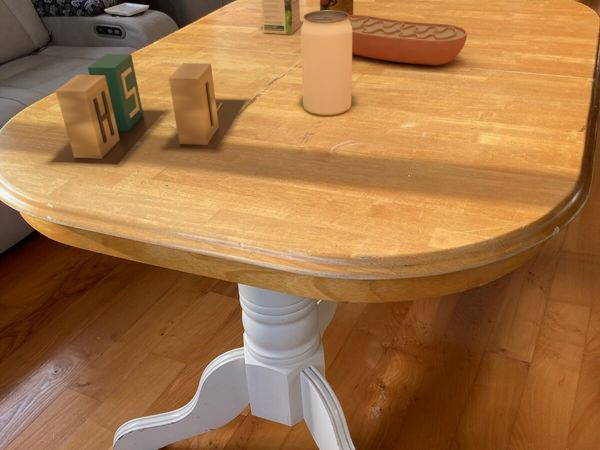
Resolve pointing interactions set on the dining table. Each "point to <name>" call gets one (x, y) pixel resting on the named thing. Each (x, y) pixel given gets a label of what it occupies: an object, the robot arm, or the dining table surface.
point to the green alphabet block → (120, 88)
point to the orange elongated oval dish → (405, 40)
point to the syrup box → (280, 16)
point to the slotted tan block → (199, 108)
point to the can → (326, 62)
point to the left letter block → (96, 123)
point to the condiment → (337, 5)
